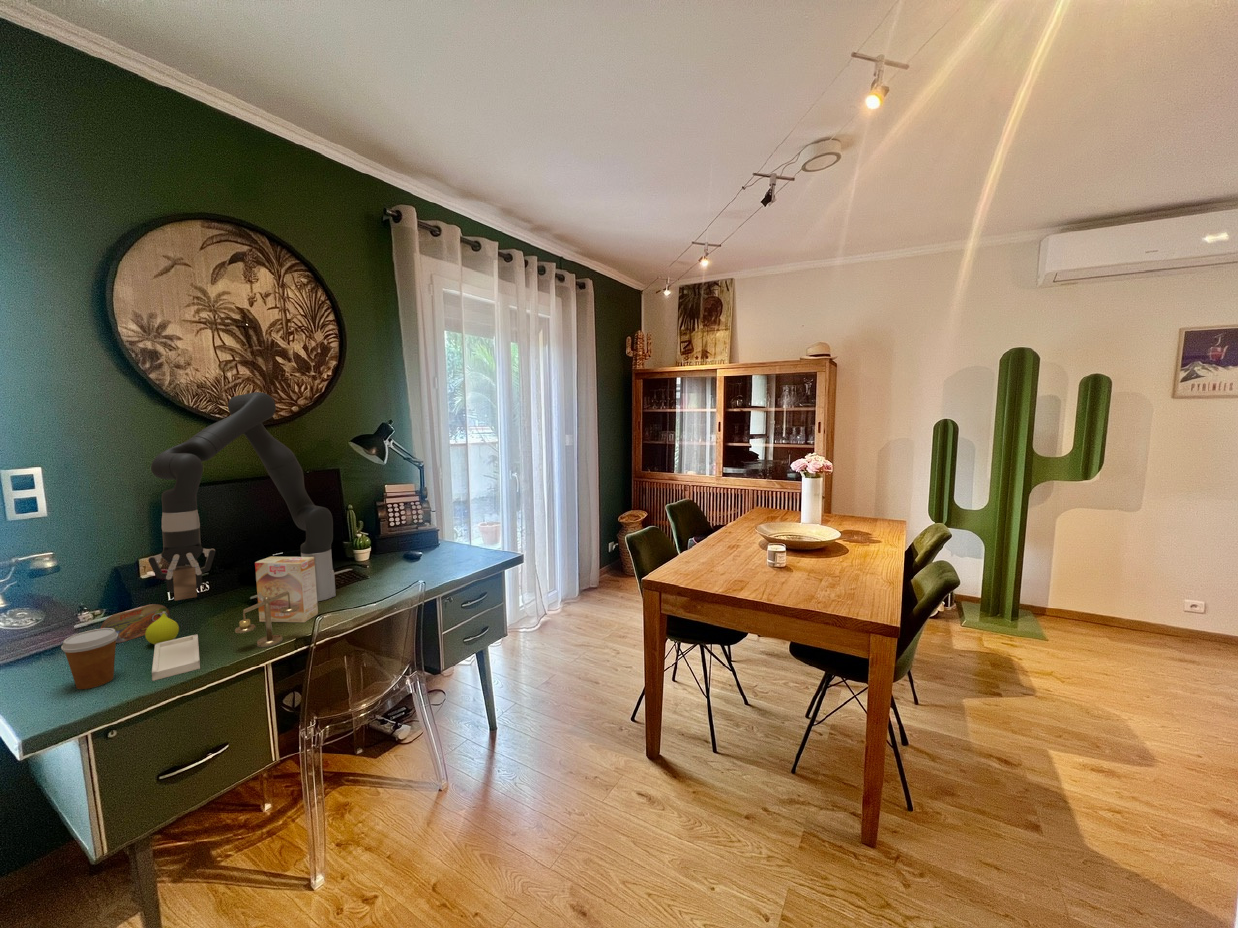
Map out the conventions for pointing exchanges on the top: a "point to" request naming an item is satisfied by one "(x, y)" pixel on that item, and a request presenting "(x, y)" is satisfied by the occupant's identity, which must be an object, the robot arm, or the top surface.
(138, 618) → the tin
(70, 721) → the top surface
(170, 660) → the dish
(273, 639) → the balance
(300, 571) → the coffeecake box
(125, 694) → the top surface
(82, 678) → the disposable coffee cup
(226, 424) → the robot arm
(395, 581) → the top surface
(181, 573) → the block
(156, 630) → the ornament
